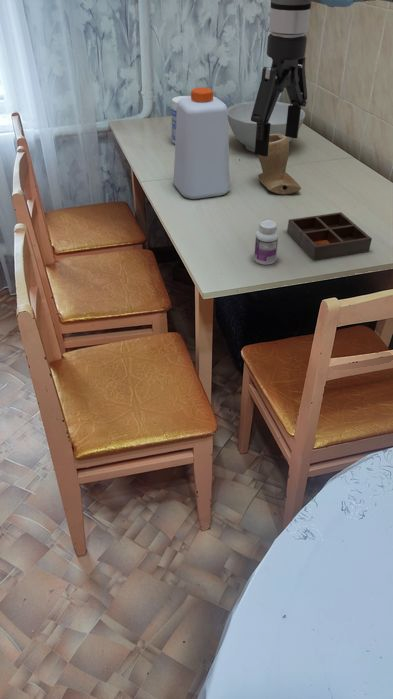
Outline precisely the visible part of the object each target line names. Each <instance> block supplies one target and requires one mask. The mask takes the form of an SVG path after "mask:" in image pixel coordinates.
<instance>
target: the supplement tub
mask: <svg viewBox="0 0 393 699" xmlns="http://www.w3.org/2000/svg"><path fill="white" fill-rule="evenodd" d="M188 97H191V95H180V96H179V95H178V96H175V97H173V98H172V99H171V141H172V144H174V145H175V140H176V118H177V103H178V101H179V100H180V99H182V98H188Z"/></svg>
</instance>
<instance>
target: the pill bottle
mask: <svg viewBox="0 0 393 699" xmlns="http://www.w3.org/2000/svg"><path fill="white" fill-rule="evenodd" d="M277 224H278V223H277V222H275V221H273V220H269V219H267V220H262V221H260V222H259V229H258V230H257V231H256V234H255V244H254V256H253V259H254V261H255V262H256V263H257V264H259V265H263V266H269V265H273V264H274V263H275V262H276V261H277V255H278V245H279V244H278V243H279V232H278V230H277V228H278V225H277Z"/></svg>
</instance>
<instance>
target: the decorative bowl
mask: <svg viewBox="0 0 393 699" xmlns="http://www.w3.org/2000/svg"><path fill="white" fill-rule="evenodd" d="M255 101H256V100H251V101H243V102H239V103H235V104H232V105H231V106H229V107H227V111H228V126H229V127H230V129H231V131H232V134H234V137H235V138H237V140H238V141H239V142H240V143H241V144H242V145H244V146H245V148H246V150H247V151H250V152H252V153H255V143H256V129H257V123H256V122H252V121H251V116H252V112H253V108H254V105H255ZM289 105H292V104H291V103H286V102H282V101H277V102H276V104H275V107H274V109H273V112H272V114H271V117H270V119H269V122H268V123H271V125H270V134H282V135H284V136H285V133H286V123H287V114H288V106H289ZM305 118H306V112H305V110H303V108H301V112H300V121H299V129H298V132H299V131H300V129H301V127H302V126H303V123H304V121H305ZM287 138H288V141H289V142H290V141H292V139H293V138H291V137H287Z"/></svg>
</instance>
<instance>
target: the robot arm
mask: <svg viewBox="0 0 393 699" xmlns="http://www.w3.org/2000/svg"><path fill="white" fill-rule="evenodd" d="M370 1H375V0H270V8H269V9H270V10H269V12H268V17H269V19H268V20H269V21H268V31H269V34H268V35H267V41H266V55H267V57H269V58H271V60H272V61H271V65H270V67H269V66H263V68H262V71H261V78H260V79H261V80H260V83H259V87H258V91H257V94H256V97H255V100H254V101H255V105H254V108H253V112H252V116H251V121H252V122H256V123H257V129H256V143H255V152H254V155H257V156H258V155H261V156H265V157H266V156H268V147H269V136H270V125H271V123H268V122H269V119H270V117H271V114H272V112H273V109H274V107H275V104H276V102H278V99H279V96H280V94H282V93H283V92H284V90H285V89H286V93H287V96H288V99H289V103H290V104H291V105H289V106H288V114H287V123H286V133H285V136H286V137H291V138H292V139H294V140H295V139H298V137H299V131H298V129H299V121H300V112H301V109H302V107H306V106H307V100H308V88H307V76H306V52H307V51H306V50H307V41H308V37H307V35H306V34H307V33H308V32H309V26H310V18H311V8H312V3H316V4H321V5H324V6H327V7H329V8H347V7H348V8H349V7H350V6H352V5H353V4H354V3H361V2H370ZM381 1H382V2H387V3H388V2H389V3H393V0H381ZM299 130H300V129H299Z"/></svg>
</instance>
